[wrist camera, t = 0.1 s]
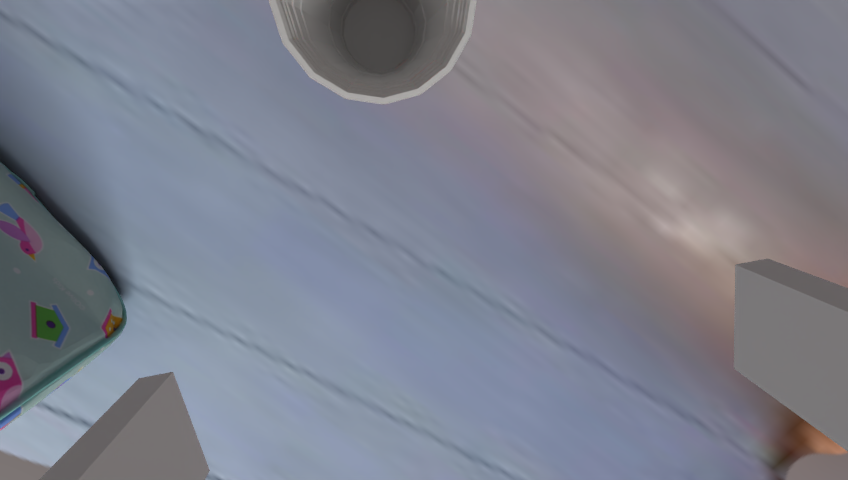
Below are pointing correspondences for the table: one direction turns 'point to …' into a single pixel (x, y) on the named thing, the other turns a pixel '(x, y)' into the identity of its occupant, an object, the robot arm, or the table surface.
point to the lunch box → (46, 302)
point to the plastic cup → (375, 43)
